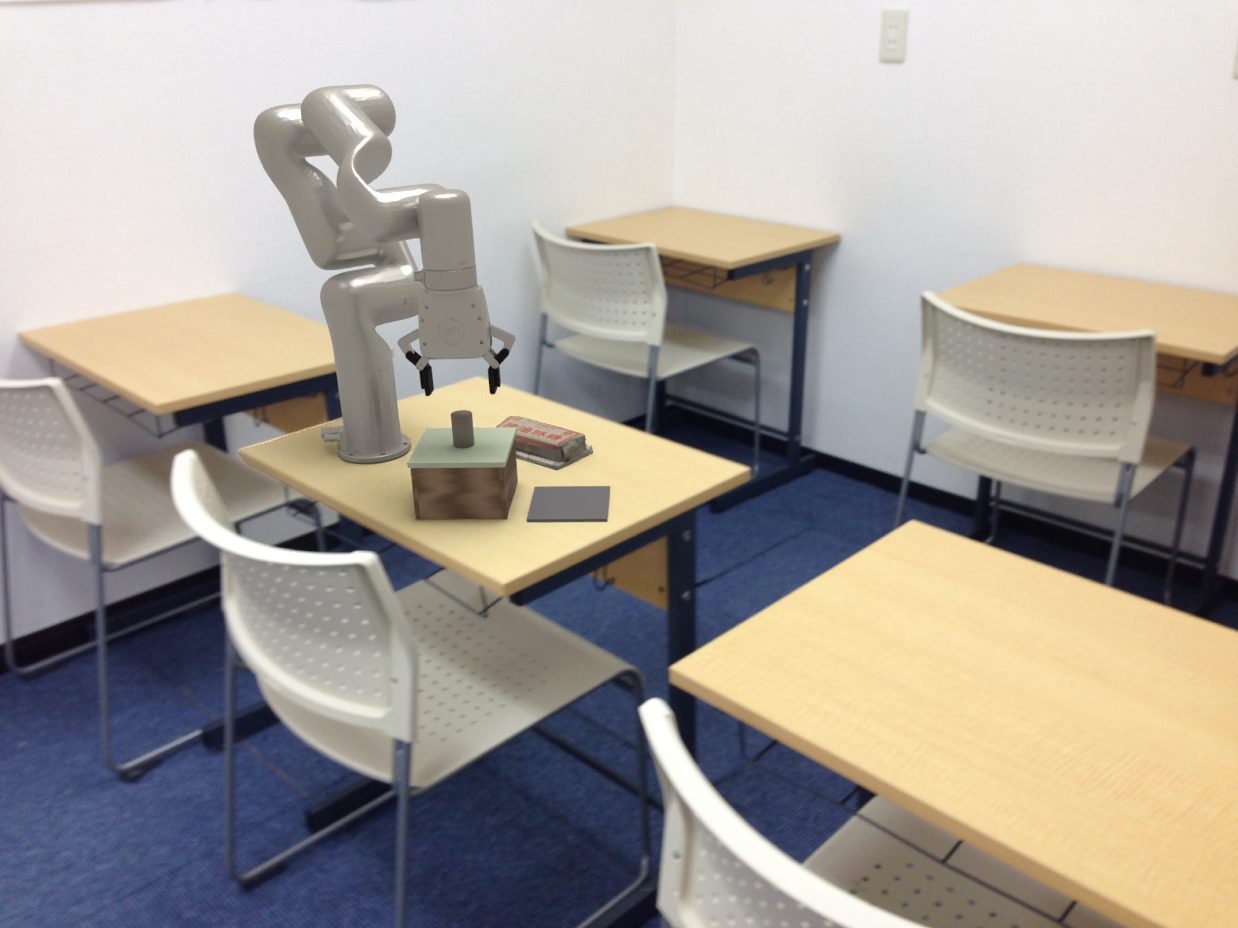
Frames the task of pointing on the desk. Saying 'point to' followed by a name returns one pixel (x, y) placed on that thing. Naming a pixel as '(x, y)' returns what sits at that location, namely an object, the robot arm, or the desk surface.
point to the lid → (463, 445)
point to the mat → (569, 504)
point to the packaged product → (546, 443)
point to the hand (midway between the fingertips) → (461, 392)
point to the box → (465, 491)
